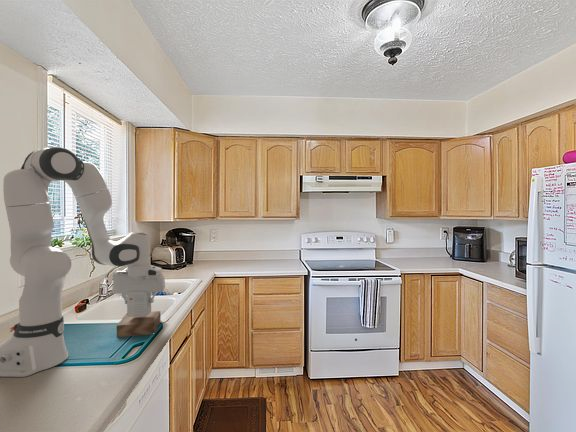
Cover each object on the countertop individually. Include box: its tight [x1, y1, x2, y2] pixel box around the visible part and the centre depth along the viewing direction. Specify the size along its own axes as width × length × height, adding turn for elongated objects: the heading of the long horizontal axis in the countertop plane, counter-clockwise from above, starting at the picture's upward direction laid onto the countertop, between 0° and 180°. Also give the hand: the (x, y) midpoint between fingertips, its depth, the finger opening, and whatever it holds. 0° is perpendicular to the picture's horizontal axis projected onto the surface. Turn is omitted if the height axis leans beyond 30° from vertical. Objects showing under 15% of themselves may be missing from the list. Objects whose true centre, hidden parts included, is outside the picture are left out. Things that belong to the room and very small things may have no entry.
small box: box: [126, 291, 152, 317], centre depth 130 cm, size 8×6×10 cm
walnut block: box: [116, 310, 161, 338], centre depth 131 cm, size 14×14×5 cm
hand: (139, 302), depth 131 cm, fingers open, 8 cm apart
